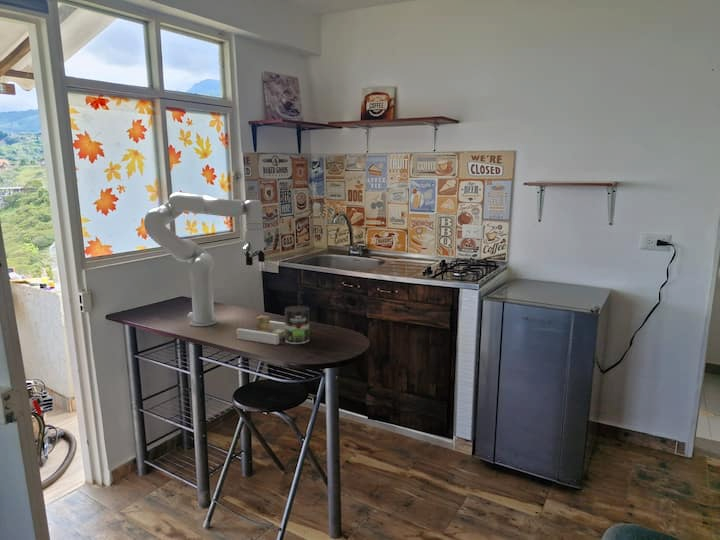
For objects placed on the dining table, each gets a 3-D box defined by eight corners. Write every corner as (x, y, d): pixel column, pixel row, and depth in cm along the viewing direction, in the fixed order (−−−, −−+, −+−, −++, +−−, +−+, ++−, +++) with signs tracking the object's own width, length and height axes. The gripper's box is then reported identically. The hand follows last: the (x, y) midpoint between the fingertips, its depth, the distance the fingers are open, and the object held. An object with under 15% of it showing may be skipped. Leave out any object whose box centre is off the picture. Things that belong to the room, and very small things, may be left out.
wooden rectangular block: (257, 336, 217) (256, 317, 215) (262, 333, 220) (261, 315, 219) (280, 339, 212) (280, 320, 211) (285, 336, 216) (285, 318, 214)
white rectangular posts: (236, 338, 213) (236, 329, 212) (259, 327, 229) (259, 319, 228) (276, 344, 206) (276, 335, 205) (297, 332, 221) (297, 324, 220)
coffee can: (311, 343, 208) (310, 310, 205) (286, 345, 205) (285, 312, 202) (307, 335, 217) (307, 304, 215) (284, 337, 215) (283, 305, 212)
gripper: (258, 224, 238) (259, 260, 241) (236, 228, 223) (237, 265, 226) (271, 225, 235) (272, 261, 239) (250, 229, 220) (251, 267, 223)
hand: (255, 263), depth 232 cm, fingers open, 9 cm apart
